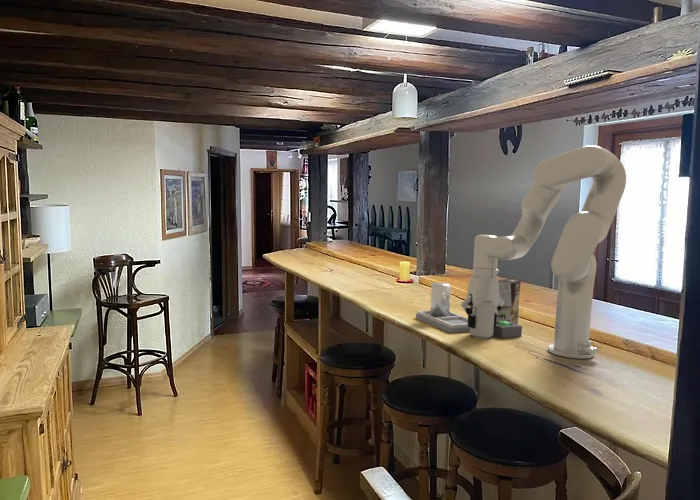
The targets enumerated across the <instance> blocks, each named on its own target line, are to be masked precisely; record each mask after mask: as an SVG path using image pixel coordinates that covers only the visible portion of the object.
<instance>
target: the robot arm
mask: <svg viewBox="0 0 700 500" xmlns="http://www.w3.org/2000/svg"><path fill="white" fill-rule="evenodd" d="M587 178H591V179H592V182H593V183H592V186H591V188H590V190H589V192H588V193H587V196H586V198H585V201H584V204H583V205H582V208H581V210H580V212H577V213H576V214H573V215H572V216H571V217H570V218H569V219H568V221H567V222H566V223H565V225H564V227H563V228H564V229H563V231H562V233H561V235H560V238H559V240H558V242H557V245H556V248H555V250H554V253H553V256H552V258H551V264H550V266H551V272H552V273H553V275H554V276H555V278H556V279H558V280H559V281H558V287H557V296H556V297H557V298H556V309H555V310H556V311H555V324H554V325H555V326H554V339H553V340H554V341H553V343H552V344H549V345H548V347H547V350H548V352H550V353H551V354H553V355H556V356H559V357H564V358H567V359H568V358H569V359H579V360H581V359H583V360H584V359H591V358H593V357H594V356H596V354H597V353H598V352H599V348H597V347H595V346H593V345H592V344H593V341H592V340H590V334H591V333H590V332H591V322H592V321H591V320H592V308H593V295H594V287H595V279H596V275H597V260H596V256H595V254H594V253H595V251H596V248H597V246H598V244H599V243H601V242H602V241H604V240H605V239H606V237H607V236H608V234H609V230H610V228H611V225H612V223H613V220H614V217H615V215H616V213H617V210H618V207H619V205H620V202H621V199H622V198H623V195H624V192H625V189H626V184H627V174H626V169H625V166H624V164H623V163H622V161H620V159H619V158H618V157H617V156H616V155H615V154H614V153H613V152H611V151H610V150H608V149H606V148H603V147H601V146H598V145H593V144H592V145H585V146H581V147H578V148H575V149H571V150H569V151H566V152H563V153H561V154H558V155H554V156H552V157H548V158H546V159H544V160H542V161H540V162H539V163H538V164H537V165H536V167H535V168H534V172H533V180H534V183H533V184H532V186H530V187H531V188H530V189H529V190H528V192H527V194H526V195H525V196H524V198H523V200H522V202H521V211H522V212H521V216H520V220H519V222H518V224H517V225H516V228H514V231H513V232H512V233H511V234H510V235H505V236H496V235H494V234H477V235H476V236H475V237H474V247H473V267H472V269H473V270H472V276H470V277H469V281H468V284H467V290H466V298H465V299H464V300H463V301H462V302H461V303H460V306H461V307H462V308H463V311H464V312H465V313H466V315H467V318H468V327H471V328H475V323H476V316H474V315H475V313H476V310H477V308H479V307H480V306H481V305H482V302H493V305H494V306H495V312H494V327H495V326H496V316H497V314H498V313H499V311H500V309H501V307H502V306H503V304H504V301H503V300H502V299H501V298H500V297H499V282H498V280H499V278H498V274H499V273H500V269H498V263H499V262H498V260H501V261H512V260H515V259H517V260H518V259H520V258H522V257H524V256H526V254H527V253H528V252H529V251H530V250H531V248H532V246H533V245H534V244H535V242H536V240H537V239H538V237H539V236H540V234H541V231H542V230H543V227H544V225H545V224H546V221H547V218H548V216H549V215H550V213H551V211H552V209H553V208H554V207H555V205H556V204H557V202H558V200H559V199H560V197H561V196H562V195H563V194H564V191H565V190H566V188H567V187H568V186H569V184H570V183H573V182H577V181H581V180H584V179H587ZM472 305H473V306H472ZM472 308H473V310H472Z"/></svg>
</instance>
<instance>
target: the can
mask: <svg viewBox="0 0 700 500" xmlns="http://www.w3.org/2000/svg"><path fill="white" fill-rule="evenodd" d="M472 306H473V305H472ZM472 310H473V308H472ZM494 312H495V306H494V305H493V302H482V305H481V306H480V307H479V308H477V310H476V313H475V315H474V316H476V323H475V328H471V327H470V332H469V334H470V335H471V337H473V338H475V339H481V338H482V339H485V340H486V339H488V340H489V339H490V338H491V337H493V336H494V335H493V329H494Z"/></svg>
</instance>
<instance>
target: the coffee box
mask: <svg viewBox="0 0 700 500" xmlns="http://www.w3.org/2000/svg"><path fill="white" fill-rule="evenodd" d="M498 282H499V297H500V298H501V299H502V300H503V301H504V304H503V306H502V307H501V309H500V311H499V313H498V314H497V316H496V321H508V322H511V323H514V324H517V325H518V323H519V310H520V297H521V282H522V281H521V279H513V278H501V279H498Z"/></svg>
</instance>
